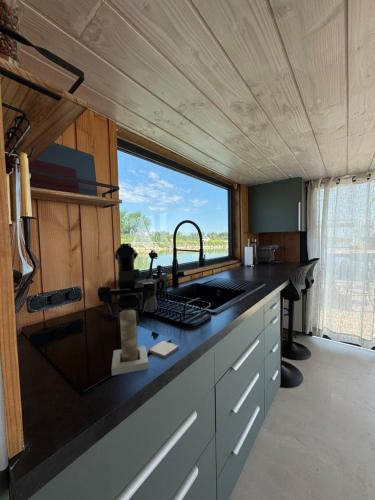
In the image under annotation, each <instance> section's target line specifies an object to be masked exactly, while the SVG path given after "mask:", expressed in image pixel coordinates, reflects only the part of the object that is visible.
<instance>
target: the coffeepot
mask: <svg viewBox="0 0 375 500" xmlns="http://www.w3.org/2000/svg"><path fill="white" fill-rule="evenodd" d="M145 277H146V278H145V279H141V280H139V281H137V282H136V281H135V282H136V285H135V286H136V288H139V287H143V283H151V282H153V283H154V285H155V293H154V296H153V297H151V298H150V299H148V300H147V302H146V305H145V308H144V310H153V309H156V308H157V305H158V302H157V297H156V293H157V286H158V285H157V284H159V283H161V285H160V288H159V292H158V293H157V295H162V294H163V290H164V288H165V285H166V281H165V280H164V279H163V278H155V279H152V278H150V275H146V276H145ZM142 295H143V293H140V296H142ZM140 309H142V298H141V299H140ZM140 309H139V310H140Z"/></svg>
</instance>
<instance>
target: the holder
mask: <svg viewBox="0 0 375 500" xmlns="http://www.w3.org/2000/svg"><path fill="white" fill-rule="evenodd" d="M137 347H138V357H139V359H138V360H134V361H129V362H123V363H122V348H121V349H116V350H115V349H114V350H113V355H112V362H111V368H110V369H111V376H117V375H123V374H128V373H133V372H139V371H144V370H149V359H148V353H147V345H140V346H137Z"/></svg>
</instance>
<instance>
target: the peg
mask: <svg viewBox="0 0 375 500" xmlns="http://www.w3.org/2000/svg"><path fill="white" fill-rule="evenodd" d="M119 322H120V325H119V326H120V343H121V349H122V359H121V363H123V362H129V361H134V360H139V356H138V347H139V346H138V330H137V324H136V311H135V310H125V311H122V312H120V313H119Z"/></svg>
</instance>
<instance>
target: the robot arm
mask: <svg viewBox="0 0 375 500" xmlns="http://www.w3.org/2000/svg"><path fill="white" fill-rule="evenodd" d="M114 256H115V261H117V264H118V279H117V287H118V288H115V289H112V287H111V285H106V286H99V287H98V288H97V296H98V297H97V298H98V299H99V302H100V303H103V304H107V307H108V308H109V310H110V312H111V316H112V317H113V318H114V317H115V309H114V304H113V303H114V302H113V296H119V297H118V298H117V309H118V313H119V314H120V312H122V311H125V310H135V311H136V325H137V324H138V323H139V321H140V319H139V311H140V307H141V299H142V312H141V313H142V314H144V313H143V312H144V308H145V305H146V302H147V300H148V299H150V298H151V297H153V296H154V293H155V285H154V283H153V282H151V283H143V287H139V288H138V287H136V286H137V285H136V280H139V279H140V269H139V268H135V260H136V259H137V257H139V256H138V252H137V251H136V250H135V249H134V247H132V245H131V243H130V242H129V243H121V244H119V247H118V248H117V249H116V250H115V253H114ZM141 293H143V295H141V299H140V298H139V296H138V295H137V294H141ZM155 294H156V293H155Z"/></svg>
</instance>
